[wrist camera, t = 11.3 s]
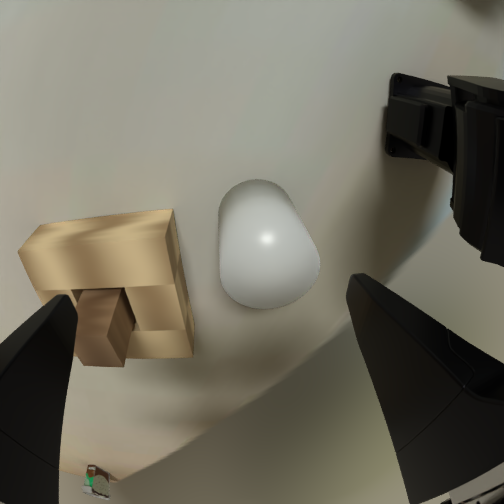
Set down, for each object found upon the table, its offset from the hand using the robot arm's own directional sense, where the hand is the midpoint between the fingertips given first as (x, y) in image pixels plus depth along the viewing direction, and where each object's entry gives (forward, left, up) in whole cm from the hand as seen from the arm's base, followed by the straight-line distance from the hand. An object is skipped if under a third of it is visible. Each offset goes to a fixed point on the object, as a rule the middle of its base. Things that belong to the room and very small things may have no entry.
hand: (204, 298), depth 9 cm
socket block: (+9, +9, -13) cm, 18 cm away
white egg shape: (-3, +4, -13) cm, 14 cm away
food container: (+47, +83, -13) cm, 96 cm away
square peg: (+9, +9, -13) cm, 18 cm away
